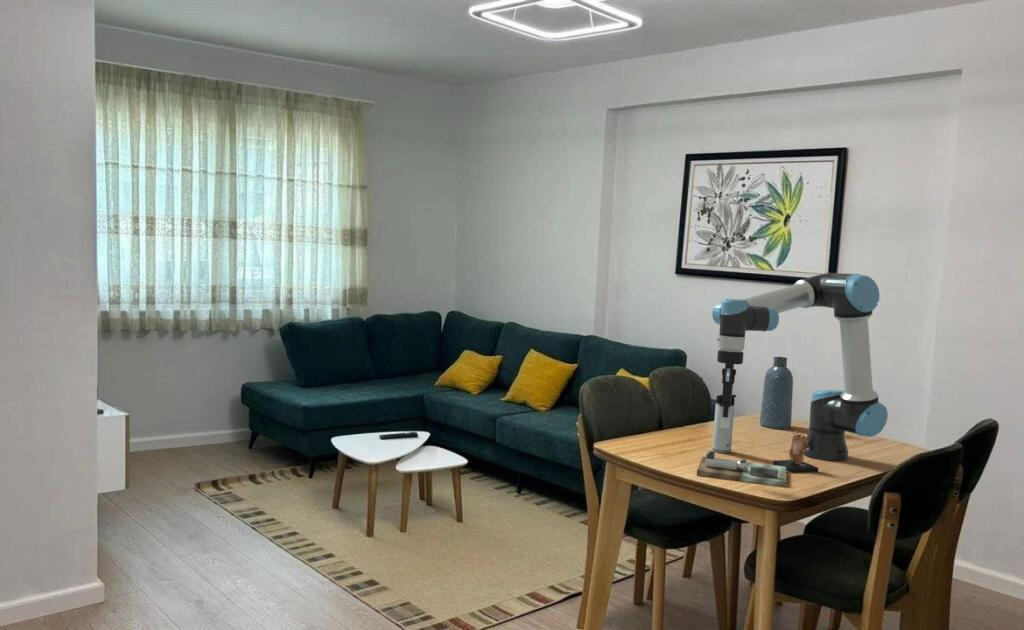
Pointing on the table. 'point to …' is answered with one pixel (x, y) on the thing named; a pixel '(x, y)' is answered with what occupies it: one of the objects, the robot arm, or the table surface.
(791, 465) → the figurine
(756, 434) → the table surface
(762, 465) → the door board
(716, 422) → the travel mug
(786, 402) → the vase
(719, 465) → the bar
